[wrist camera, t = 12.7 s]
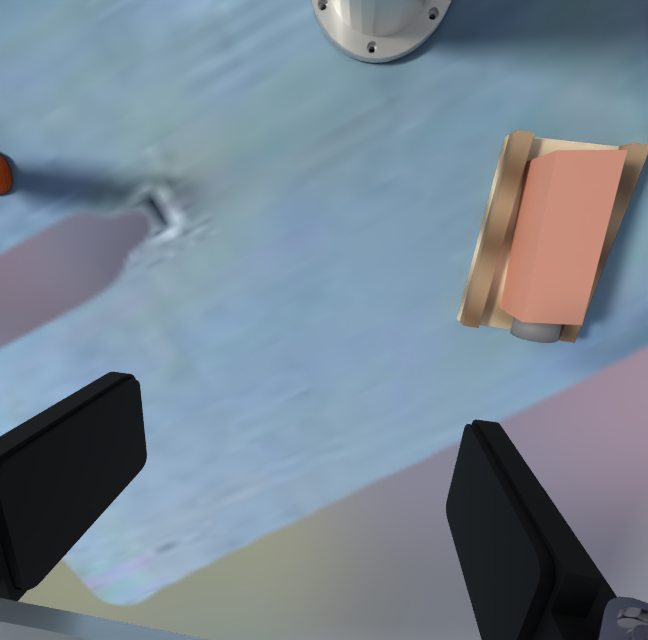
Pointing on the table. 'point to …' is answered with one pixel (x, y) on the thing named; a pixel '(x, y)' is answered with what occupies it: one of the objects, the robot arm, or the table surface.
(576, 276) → the salmon rectangular block
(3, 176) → the toy drill
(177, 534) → the table surface
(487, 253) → the cradle
